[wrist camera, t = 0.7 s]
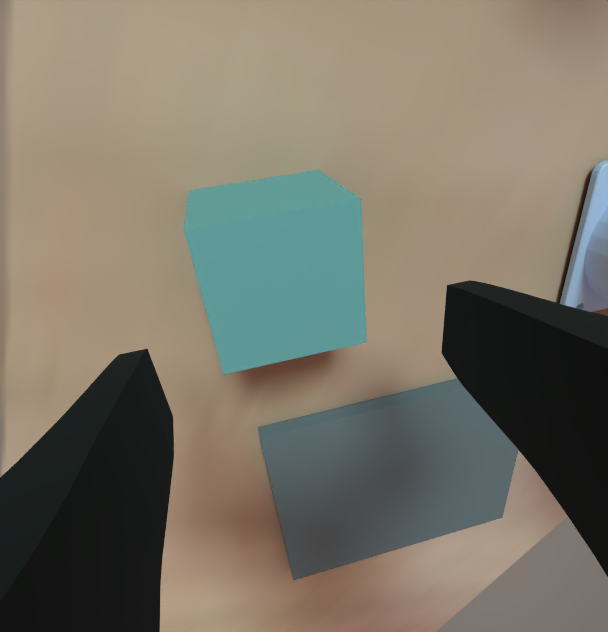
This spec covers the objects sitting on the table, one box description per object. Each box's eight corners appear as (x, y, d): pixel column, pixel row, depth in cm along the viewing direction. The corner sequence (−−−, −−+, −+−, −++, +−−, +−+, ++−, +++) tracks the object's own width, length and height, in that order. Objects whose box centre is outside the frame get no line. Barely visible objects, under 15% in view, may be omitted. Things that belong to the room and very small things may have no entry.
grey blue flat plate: (527, 361, 23) (537, 369, 23) (495, 508, 31) (502, 517, 30) (258, 427, 21) (260, 438, 21) (291, 568, 28) (293, 580, 28)
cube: (317, 169, 16) (361, 198, 11) (327, 283, 18) (366, 342, 14) (188, 189, 15) (184, 228, 11) (217, 306, 18) (223, 374, 13)
